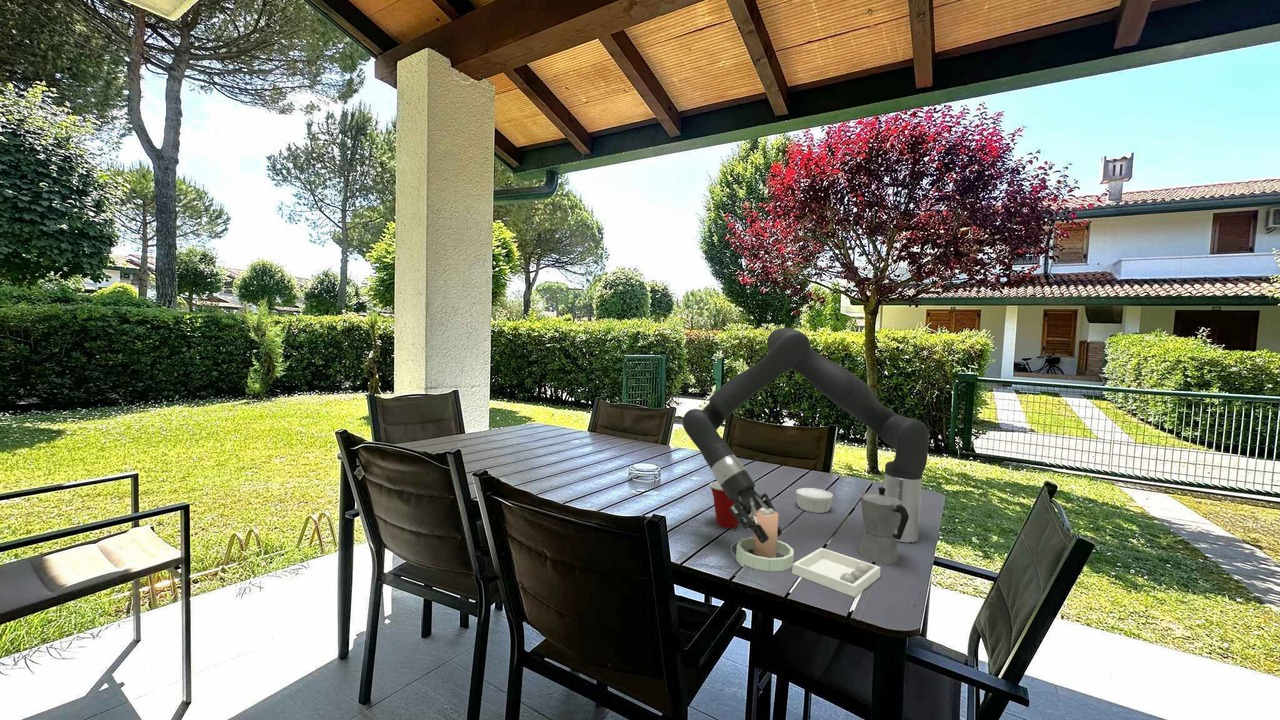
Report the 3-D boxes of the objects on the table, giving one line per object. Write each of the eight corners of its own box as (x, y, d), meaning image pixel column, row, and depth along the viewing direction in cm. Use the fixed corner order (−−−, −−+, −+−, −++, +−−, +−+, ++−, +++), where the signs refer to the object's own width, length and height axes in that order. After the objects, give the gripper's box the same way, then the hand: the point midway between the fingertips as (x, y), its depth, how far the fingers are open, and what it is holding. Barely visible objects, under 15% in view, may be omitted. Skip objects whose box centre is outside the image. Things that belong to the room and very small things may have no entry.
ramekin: (789, 503, 171) (790, 487, 171) (822, 503, 172) (823, 487, 172) (804, 514, 160) (804, 498, 160) (838, 514, 161) (839, 498, 161)
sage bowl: (741, 547, 133) (742, 533, 133) (794, 556, 128) (795, 542, 128) (732, 567, 121) (733, 553, 120) (790, 578, 116) (791, 563, 116)
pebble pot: (754, 547, 128) (756, 504, 127) (777, 551, 126) (779, 507, 126) (751, 556, 123) (753, 510, 122) (775, 560, 121) (777, 514, 120)
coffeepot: (844, 549, 134) (848, 480, 133) (875, 547, 136) (879, 479, 135) (886, 576, 119) (891, 499, 118) (920, 573, 121) (925, 497, 121)
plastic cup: (719, 515, 156) (721, 476, 156) (752, 524, 149) (754, 483, 149) (700, 524, 148) (701, 482, 147) (733, 535, 141) (735, 491, 140)
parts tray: (820, 559, 127) (821, 544, 127) (879, 580, 117) (880, 563, 117) (792, 576, 117) (792, 560, 117) (854, 600, 107) (855, 582, 107)
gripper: (725, 473, 124) (766, 538, 116) (757, 464, 134) (798, 523, 126) (706, 490, 128) (745, 554, 120) (739, 480, 138) (777, 538, 130)
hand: (772, 538), depth 123 cm, fingers closed on pebble pot, 5 cm apart
